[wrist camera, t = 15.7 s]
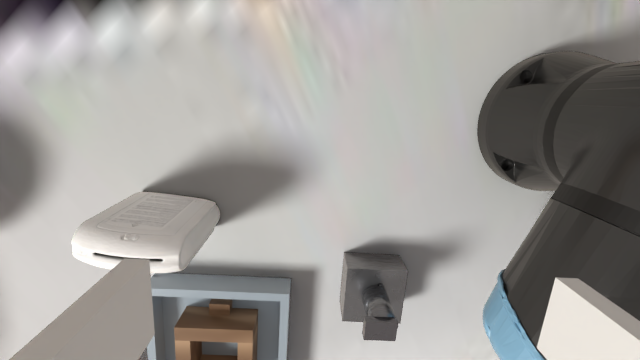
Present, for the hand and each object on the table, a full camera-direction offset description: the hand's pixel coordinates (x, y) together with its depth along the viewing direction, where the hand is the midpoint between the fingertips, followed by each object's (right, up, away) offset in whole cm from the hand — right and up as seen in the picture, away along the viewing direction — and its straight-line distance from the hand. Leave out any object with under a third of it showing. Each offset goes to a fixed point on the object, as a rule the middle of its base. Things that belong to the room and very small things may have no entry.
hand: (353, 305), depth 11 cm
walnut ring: (-14, -17, +33) cm, 39 cm away
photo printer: (-18, +1, +29) cm, 34 cm away
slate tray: (-14, -16, +34) cm, 40 cm away
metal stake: (+5, -9, +32) cm, 34 cm away
